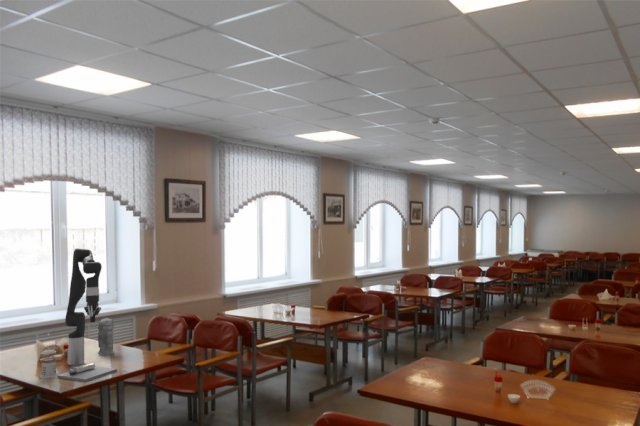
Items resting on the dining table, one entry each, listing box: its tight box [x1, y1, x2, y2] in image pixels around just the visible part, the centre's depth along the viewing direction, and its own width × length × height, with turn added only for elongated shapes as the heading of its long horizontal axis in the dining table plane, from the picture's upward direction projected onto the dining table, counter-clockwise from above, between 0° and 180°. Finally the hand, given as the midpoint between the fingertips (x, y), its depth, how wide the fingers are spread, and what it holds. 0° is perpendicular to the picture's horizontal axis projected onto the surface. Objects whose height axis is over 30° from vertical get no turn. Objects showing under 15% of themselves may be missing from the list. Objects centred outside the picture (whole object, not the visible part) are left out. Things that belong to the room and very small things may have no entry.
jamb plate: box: [56, 361, 118, 383], centre depth 300 cm, size 23×23×4 cm
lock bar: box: [68, 362, 96, 374], centre depth 301 cm, size 16×4×2 cm, turn 153°
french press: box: [39, 332, 59, 379], centre depth 301 cm, size 10×12×25 cm
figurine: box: [97, 317, 115, 356], centre depth 353 cm, size 10×14×25 cm
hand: (92, 322), depth 312 cm, fingers closed
